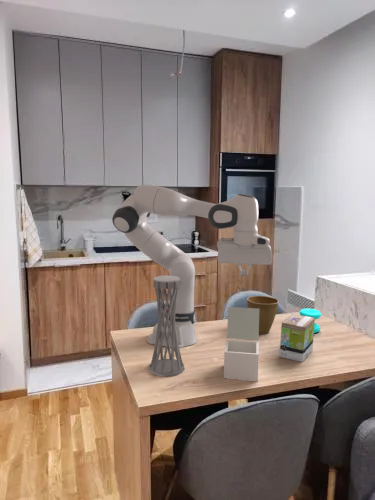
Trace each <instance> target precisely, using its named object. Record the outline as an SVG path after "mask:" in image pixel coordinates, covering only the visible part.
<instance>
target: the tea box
mask: <svg viewBox="0 0 375 500" xmlns="http://www.w3.org/2000/svg"><path fill="white" fill-rule="evenodd" d="M315 320H316V319H315V318H312V317H307V316H301V315H300V314H295V313H292V314H291V315H290V316H288V317H287V318H286V319H284V320H283V321H282V322H281V327H280V328H281V329H280V331H281V332H280V343H279V357H281V358H284V359H287V360H292V361H296V362H302V363H303V362H304V361H305V359H306V358H307V357H308V356H309V355H310V354H311V352H312V351H313V347H314V334H315V333H314V323H315Z"/></svg>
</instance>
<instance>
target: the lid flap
mask: <svg viewBox="0 0 375 500" xmlns="http://www.w3.org/2000/svg"><path fill="white" fill-rule="evenodd" d="M227 307H228V308H227V324H226V325H227V330H226V339H230V340H244V341H259V336H260V334H259V309H257V308H248V307H237V306H236V307H235V306H227Z"/></svg>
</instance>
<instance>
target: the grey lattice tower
mask: <svg viewBox="0 0 375 500" xmlns="http://www.w3.org/2000/svg"><path fill="white" fill-rule="evenodd" d="M178 287H180V278H179V277H177V276H169V275H158V276H155V277H153V288H154V290H155V293H156V302H157V303H156V304H157V323H158V326H157V334H156V342H155V345H154V349H153V354H152V357H151V362H150V363H149V365H148V371H149V372H150V374H153V376H156V377H161V376H164V377H165V378H168V376H169V377H174V376H178V375H181V374H182V373H184V371H185V364H184V362H183V359H182V354H181V350H180V348H179V345H178V339H177V331H176V322H175V311H176V297H177V291H178ZM172 289H173V293H172ZM169 297H170V305H169ZM164 298H165V301H164ZM167 308H168V313H167V311H166V309H167ZM169 316H170V322H169ZM164 318H166V321H165V322H164ZM162 325H163V332H162ZM171 325H172V330H171ZM167 326H168V329H169V330H168V335H167V332H166V328H167ZM164 336H165V339H166V346H164V350H163V346H162V344H163V340H164ZM169 337H171V340H172V346H171V347H170V346H169ZM159 340H160V344H159V345H158V342H159ZM174 340H175V341H174ZM163 353H164V354H163ZM167 353H168V354H167ZM167 355H168V358H167Z"/></svg>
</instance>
